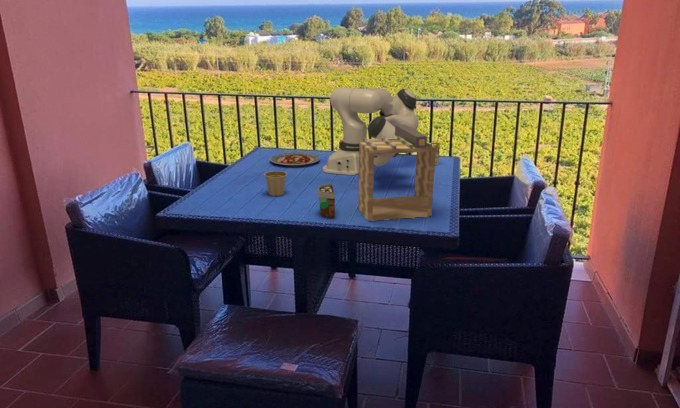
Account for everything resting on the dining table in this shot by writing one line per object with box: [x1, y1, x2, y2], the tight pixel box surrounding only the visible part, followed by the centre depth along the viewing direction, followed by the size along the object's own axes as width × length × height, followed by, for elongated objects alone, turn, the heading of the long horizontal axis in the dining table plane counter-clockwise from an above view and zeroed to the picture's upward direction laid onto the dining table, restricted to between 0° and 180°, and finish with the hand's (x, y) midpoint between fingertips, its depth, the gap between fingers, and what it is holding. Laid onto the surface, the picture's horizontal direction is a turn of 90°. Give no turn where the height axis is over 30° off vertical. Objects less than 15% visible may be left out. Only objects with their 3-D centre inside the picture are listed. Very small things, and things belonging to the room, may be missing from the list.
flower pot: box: [263, 170, 288, 197], centre depth 213 cm, size 9×9×9 cm
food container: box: [316, 183, 336, 219], centre depth 190 cm, size 12×6×10 cm, turn 5°
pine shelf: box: [357, 137, 436, 222], centre depth 189 cm, size 14×24×27 cm, turn 102°
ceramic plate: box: [269, 151, 321, 167], centre depth 265 cm, size 26×26×3 cm
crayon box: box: [430, 142, 441, 166], centre depth 259 cm, size 7×3×12 cm, turn 98°
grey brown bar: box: [395, 125, 428, 148], centre depth 189 cm, size 24×4×4 cm, turn 12°
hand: (394, 138), depth 206 cm, fingers open, 8 cm apart
